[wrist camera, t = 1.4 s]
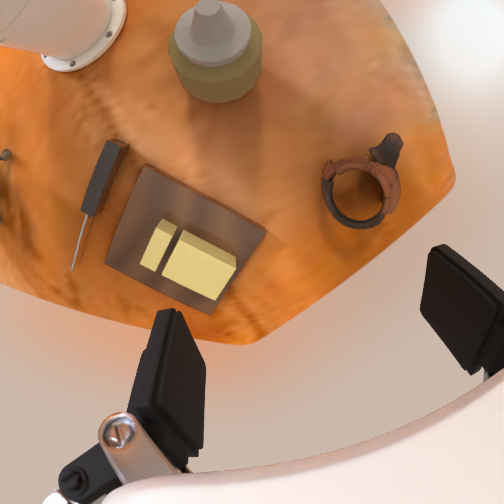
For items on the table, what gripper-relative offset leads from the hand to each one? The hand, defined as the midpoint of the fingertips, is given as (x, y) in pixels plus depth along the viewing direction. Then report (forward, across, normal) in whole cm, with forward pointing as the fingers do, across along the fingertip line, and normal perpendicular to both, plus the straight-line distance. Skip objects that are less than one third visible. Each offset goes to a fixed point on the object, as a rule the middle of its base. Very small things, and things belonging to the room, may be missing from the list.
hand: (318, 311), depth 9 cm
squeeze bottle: (+24, +1, -13) cm, 27 cm away
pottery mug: (+24, -13, +2) cm, 27 cm away
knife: (+24, +20, -2) cm, 31 cm away
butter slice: (+22, +12, +4) cm, 26 cm away
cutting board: (+24, +11, +6) cm, 27 cm away
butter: (+22, +8, +8) cm, 25 cm away
